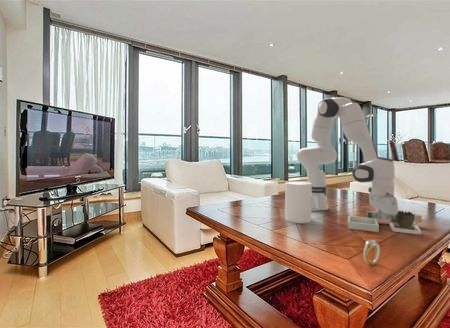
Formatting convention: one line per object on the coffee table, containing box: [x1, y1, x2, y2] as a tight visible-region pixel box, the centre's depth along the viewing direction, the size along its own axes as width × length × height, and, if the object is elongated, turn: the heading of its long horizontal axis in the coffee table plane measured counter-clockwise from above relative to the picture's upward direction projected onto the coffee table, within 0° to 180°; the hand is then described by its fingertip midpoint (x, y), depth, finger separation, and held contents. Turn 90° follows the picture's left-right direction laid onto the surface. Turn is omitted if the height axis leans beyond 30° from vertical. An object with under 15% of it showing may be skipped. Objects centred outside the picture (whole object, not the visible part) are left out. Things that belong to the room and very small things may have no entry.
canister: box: [284, 180, 312, 224], centre depth 133 cm, size 14×14×20 cm
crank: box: [366, 209, 423, 223], centre depth 123 cm, size 22×6×4 cm, turn 63°
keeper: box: [389, 221, 422, 235], centre depth 115 cm, size 10×10×2 cm
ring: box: [362, 239, 381, 266], centre depth 81 cm, size 7×3×8 cm, turn 113°
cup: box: [395, 210, 416, 229], centre depth 114 cm, size 8×7×8 cm
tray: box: [347, 215, 380, 233], centre depth 120 cm, size 12×12×3 cm
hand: (382, 219), depth 119 cm, fingers closed
